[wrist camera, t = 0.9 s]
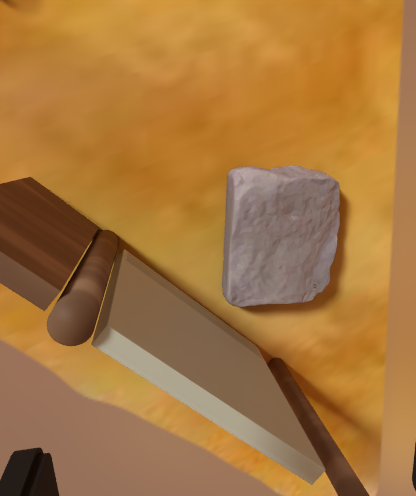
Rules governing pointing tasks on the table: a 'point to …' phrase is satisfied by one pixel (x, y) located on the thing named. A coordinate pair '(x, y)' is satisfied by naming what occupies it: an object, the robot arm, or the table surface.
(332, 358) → the table surface
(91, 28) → the table surface
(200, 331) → the door
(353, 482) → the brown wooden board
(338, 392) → the table surface
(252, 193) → the stone block
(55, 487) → the robot arm
